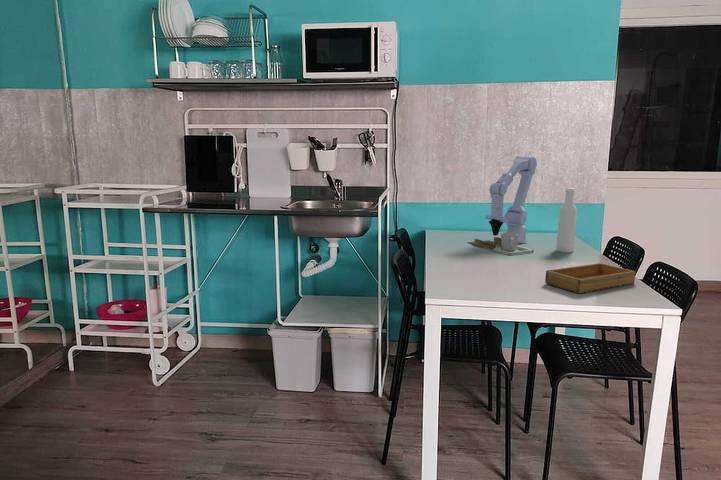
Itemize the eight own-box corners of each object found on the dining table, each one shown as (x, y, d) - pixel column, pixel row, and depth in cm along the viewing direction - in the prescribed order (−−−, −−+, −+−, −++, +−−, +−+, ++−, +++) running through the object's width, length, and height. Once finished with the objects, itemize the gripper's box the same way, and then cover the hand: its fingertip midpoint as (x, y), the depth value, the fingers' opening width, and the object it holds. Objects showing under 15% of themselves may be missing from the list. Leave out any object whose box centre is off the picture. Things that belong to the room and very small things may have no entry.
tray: (598, 275, 213) (600, 261, 212) (634, 285, 200) (636, 270, 199) (544, 285, 198) (545, 270, 197) (578, 295, 185) (580, 280, 184)
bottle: (570, 249, 260) (576, 187, 254) (575, 253, 252) (581, 189, 246) (553, 249, 260) (559, 187, 255) (558, 252, 253) (563, 188, 247)
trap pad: (488, 240, 279) (488, 240, 278) (495, 242, 274) (495, 241, 274) (467, 242, 272) (467, 242, 272) (473, 244, 268) (473, 244, 268)
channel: (495, 242, 274) (496, 236, 273) (515, 247, 262) (515, 241, 261) (474, 244, 267) (474, 239, 267) (493, 250, 255) (493, 244, 255)
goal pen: (516, 248, 261) (516, 245, 261) (533, 252, 251) (533, 250, 251) (493, 250, 255) (493, 248, 254) (510, 255, 245) (510, 252, 245)
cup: (520, 253, 250) (521, 236, 248) (502, 252, 250) (504, 236, 249) (515, 248, 260) (516, 232, 259) (498, 248, 261) (499, 231, 259)
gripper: (480, 206, 265) (479, 233, 268) (500, 210, 253) (499, 238, 255) (491, 205, 268) (490, 232, 271) (512, 209, 256) (510, 237, 259)
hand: (495, 235), depth 263 cm, fingers closed
